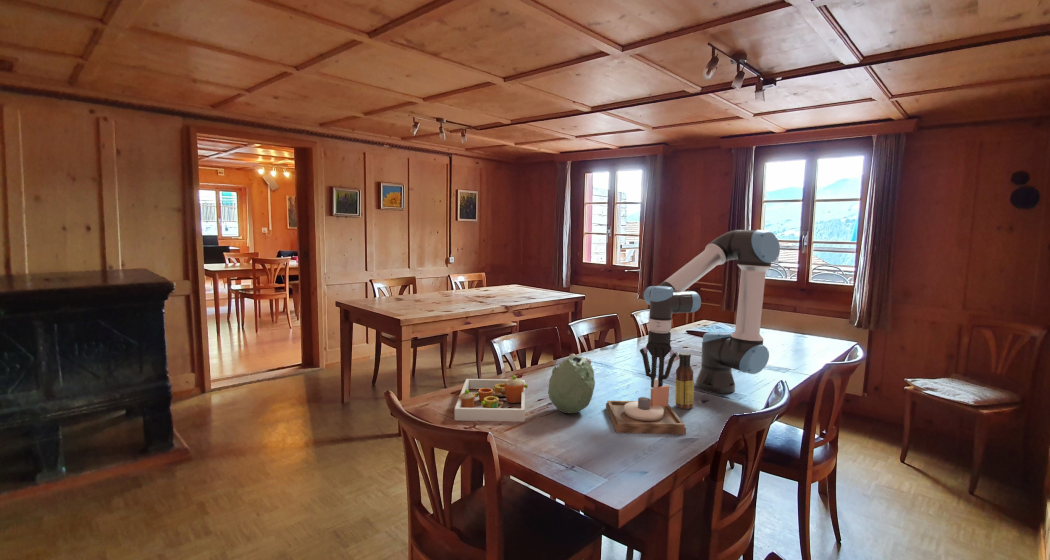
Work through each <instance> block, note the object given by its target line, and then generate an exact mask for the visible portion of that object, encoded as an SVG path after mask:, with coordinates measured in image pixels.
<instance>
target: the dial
mask: <svg viewBox="0 0 1050 560" xmlns="http://www.w3.org/2000/svg"><path fill="white" fill-rule="evenodd" d="M669 397H670V385H663V386H661V387H656V388H652V387H651V388H650V398H648V397H645V396H640V397H638V398H637V400H633V401H634V402H629V403H626V404H625V405H624V413H625V415H627V416H628V417H631V418H633V419H637V420H643V421H654V420H659V419H661V418H663V415H664V409H663V407H665V406H668V404H669Z"/></svg>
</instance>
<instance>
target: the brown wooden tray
mask: <svg viewBox="0 0 1050 560" xmlns="http://www.w3.org/2000/svg"><path fill="white" fill-rule="evenodd" d="M634 401H635V400H607V401H606V402H605V409H606V412H607V414H608V417H609V418H610V421H611V423H612V426H613V427H614V431H615V433H616V434H651V435H653V434H654V435H655V434H656V435H657V434H660V435H661V434H662V435H666V434H667V435H668V434H669V435H686V434H687V427H686V424H685V423H684V422H683V421H682V419H681V418H680V417H679V416H678V414H677V412H676V411H674V409H673V408H672V406H670V404H669V403H668V406H665V407H663V409H664V415H663V418H661V419H659V420H654V421H643V420H637V419H633V418H631V417H628V416H627V415H625V413H624V405H625V404H626V403H629V402H634Z"/></svg>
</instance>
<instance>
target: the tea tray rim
mask: <svg viewBox="0 0 1050 560" xmlns="http://www.w3.org/2000/svg"><path fill="white" fill-rule="evenodd" d="M509 379H510V378H509ZM509 379H508V378H507V379H503V378H502V379H501V378H500V379H499V378H497V379H496V378H495V379H494V378H465V381H464V383H463V386H462V389H461V391H460V394H462V393H465V390H466V389H468V390H469V388H471V389H472V388H473V389H474V388H491V389H494V388H493V387H494V385H496V384H504V383H505V382H506V381H507V380H509ZM520 380H521V381H522V382H523V383H524V385H525V384H526V380H525V379H520ZM469 391H470V390H469ZM525 401H526V388H524V390H523V392H522V398H521V402H520V403H521V404H520V405H521V407H520V408H515V407H514V408H508V407H507V408H506V407H504V408H502V407H501V408H483V407H473V408H462V399H460V398H459V397H458V399H457V401H456V404H455V406H454V421H460V422H461V421H471V422H475V421H477V422H479V421H480V422H481V421H482V422H524V421H525V419H526V418H525V414H526V411H525V409H526V402H525ZM478 420H479V421H478Z"/></svg>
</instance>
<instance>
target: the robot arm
mask: <svg viewBox="0 0 1050 560" xmlns="http://www.w3.org/2000/svg"><path fill="white" fill-rule="evenodd" d="M780 251H781V246H780V242H779V239H778V237H777V236H776V234H774V233H773V232H772V231H769V230H762V229H756V230H755V229H735V230H731V231H728V232H725V233H724V234H721V235H720V236H718V237H716V238H715V239H713V240H712V241H710V242H709V243H708V244H707V245H706V246H705V248H704V250H703V251H702V252H701V253H699V254H698V255H696V256H695V257H694V258H692V259H691V260H690V261H689V262H688V263H685V264H684V265H683V266H682V267H681V268H680V269H678V270H677V271H675V272H674V273H673V274H671V275H670V276H669V277H668V278H666V279H665V280H664V281H663V282H661V283H659V284H658V285H652V286H651V285H650V286H648V287H646V288H645V290H644V291H643V292H644V293H643V299H644V302H645V304H647V305H649V314H648V315H649V318H648V329H649V330H648V335H647V343H646V345H645V347H642V348H640V349H639V352H640V354H641V356H642V361H643V366H644V371H645V376H646V377H648V378H650V387H651V388H656V387H661V386H664V384H663V383H664V380H667V379H668V378H669V376H670V373H671V370H672V368H673V364H674V361H675V358H676V357H677V356H679V353H678V351H674V350H673V349H672V348H673V347H672V345H671V335H672V333H671V331H672V321H673V320H672V318H673V314H684V313H685V314H686V313H688V314H690V313H695V312H697V311H699V309H700V308H701V305H702V299H701V296H700V295H699V293H698V292H696V291H695V290H694V291H693V290H687V289H688V288H690V287H691V286H692V285H693V284H695V283H697V282H698V281H699V280H700V279H701V278H703V277H704V276H705V275H706V274H707V273H709V272H710V271H712V270H713V269H714V268H715V267H716V266H719V265H720V266H721V265H724V264H725V263H726V262H728V261H735V260H736V261H737V262H736V263H737V266H738V267H739V269H740V277H739V288H738V289H739V290H738V298H737V307H736V308H737V310H736V321H735V330H734V332H730V331H710V332H705V333H704V334H703V336H702V341H701V361H700V369H699V372H698V374H697V377H696V379H695V387H696V388H698V389H700V390H702V391H704V392H705V391H706V392H709V393H716V394H727V393H728V394H730V393H733V392H735V391H736V384H735V383H736V382H735V378H734V376H733V375H734V374H733V372H732V369H733V370H737V371H739V372H740V373H741V372H742V373H744V374H750V375H755V374H759V373H760V372H761V371H763V369H765V368H766V366H767V364H768V362H769V358H770V352H769V350H768V347H766V346H765V345H764V338H763V336H762V335H761V334H760V333H761V322H762V313H763V302H764V295H765V294H764V292H765V284H766V274H767V273H766V272H767V271H768V270H769V269H771V268H772V263H774V262H775V261H776V260H777V259H778V257H779V255H780ZM686 290H687V291H686ZM648 353H649V354H650V356H651V367H650V362H649V356H648ZM667 355H669V360H668V362H667V365H666V368H665V360H666V359H665V358H666V356H667ZM657 363H658V364H657ZM657 365H658V377H657ZM664 368H665V369H664Z"/></svg>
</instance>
